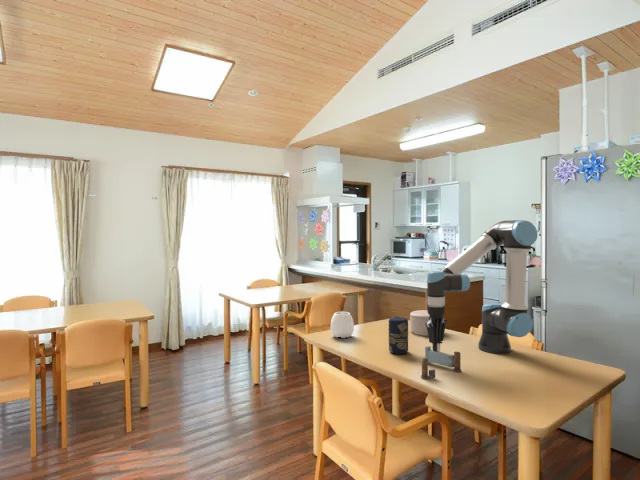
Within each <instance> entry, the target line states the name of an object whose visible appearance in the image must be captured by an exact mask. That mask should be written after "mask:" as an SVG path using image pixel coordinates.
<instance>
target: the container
mask: <svg viewBox="0 0 640 480" xmlns="http://www.w3.org/2000/svg"><path fill="white" fill-rule="evenodd" d="M429 316H430V315H429V314H428V309H423V310H422V309H421V310H420V309H418V310H413V311H411V312H410V313H409V330H410V331H411V332H412V333H413V334H415V335H418V336H424V337H426V336H427V337H428V332H427V327H426V325H425V323H428V322H429Z"/></svg>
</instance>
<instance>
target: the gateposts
mask: <svg viewBox="0 0 640 480" xmlns="http://www.w3.org/2000/svg"><path fill="white" fill-rule="evenodd" d="M453 355H454V367H453V368H452V371H453V373H462V369H461V352H460V351H454V352H453ZM420 379H422V380H428V379H429V380H435V379H436V370H435V368H434V369H433V368H432V369H429V364H428V358H425V356H424V357H421V375H420Z"/></svg>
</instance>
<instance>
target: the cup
mask: <svg viewBox="0 0 640 480" xmlns="http://www.w3.org/2000/svg"><path fill="white" fill-rule="evenodd" d="M354 328H355V325H354V319H353V317H352V315H351V313H350V312H348V311H336V312H334V313H333V315H332V317H331V320H330V332H331V334H332V336H333V337H335V338H338V337H341V339H345V338H346V337H347V338H349V337H351V336H352V335H353V333H354V330H355V329H354Z"/></svg>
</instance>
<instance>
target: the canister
mask: <svg viewBox="0 0 640 480" xmlns="http://www.w3.org/2000/svg"><path fill="white" fill-rule="evenodd" d="M387 330H388V350H389V352H390V353H391V354H395V355H403V354H407V353H408V352H409V320H408V318H407V317H401V316H399V315H397V316H392V317H390V318H389V319H388V329H387Z"/></svg>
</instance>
